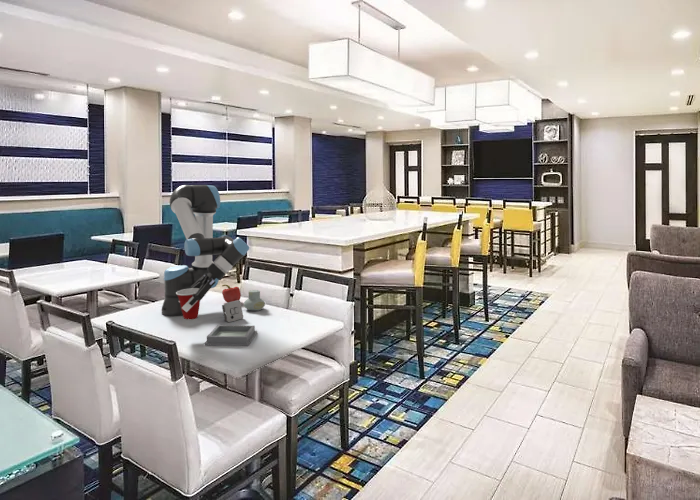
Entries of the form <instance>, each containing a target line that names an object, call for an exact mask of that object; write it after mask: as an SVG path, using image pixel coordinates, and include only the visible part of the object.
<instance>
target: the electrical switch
mask: <svg viewBox="0 0 700 500" xmlns="http://www.w3.org/2000/svg"><path fill="white" fill-rule="evenodd" d="M221 309H222V313H223V318H224V322H227V323H231V322H235V321H239V320H243V319H244V315H243V313H244V312H243V309H242V304H241V300H237V301H232V302H228V303H227V302H224V303H223V305H221Z"/></svg>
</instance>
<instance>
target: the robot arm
mask: <svg viewBox="0 0 700 500" xmlns="http://www.w3.org/2000/svg"><path fill="white" fill-rule="evenodd" d="M169 207H170V209H171V211H172V212H173V213H174V214H175V215H176V218H177V219H178V222H179V224H180V227H181V230H182V232H183V234H184V237H185V241H184V246H183V247H184V252H185V255H186V256H188V257H194V261H193V262H192V263H191V267H189V266H188V265H185V264H183V265H175V266H171V267H168V268H167V269H166V268H165V270H164V272H163V285H164V299H163V303H162V306H161V315H163V316H170V317H177V316H178V317H179V316H180V317H181V316H183V313H182V310H181V305H180V301H179V298H178V296H177V294H176V292H178V291H180V290H184V289H190V288H199V290H198V291H197V293H196V294H195V295H192V297H191V299H190V300H189V301H188V302H187V303H186V304H185V305H184V306H183V307H182V309H183V310H184V311H186V312H188V310H189V309H190V308H191V307H192V306H193V305H194V304H195V303H196V302H197V301H198V300H200V301H202V300H203V298H204V297H205V296H206V295H207V294H208V292H209V291H210V289H214V288H216V287H217V285H218V284H219V281H221V280H222V279H223V278H224V277H225V275H226V274H228V272H229V271H232V270H233V267H234V266H235V265H236V264H237V263H238V262H239V261H240V260H241V259H242V258H243V257H244V256H246V254H247V253H248V251H249V250H250V246H249V245H248V244H247V243H246V242H245V241H244V240H243V239H242V238H241V237H236V238H235V239H233V237H231V236H229V235H227V234H222V235H219V236H218V237H213V234H214V233H213V231H214V229H213V228H214V223H213V222H214V215H216V213H217V209H220V207H221V195H220V193H219V190H218V188H217V187H216V186H215V185H210V184H209V185H208V184H191V185H189V184H183V185H180V186H179V187H178V186H177V188H175V189H174V190H173V191H172V193H171V194H170V197H169ZM214 255H216V256H217V255H218V256H217V258H215V260H213V256H214Z"/></svg>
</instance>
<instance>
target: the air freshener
mask: <svg viewBox="0 0 700 500" xmlns="http://www.w3.org/2000/svg"><path fill="white" fill-rule="evenodd" d="M265 306H266V302H265V301H264V299H262V298H261V291H260V290H259V289H252V290H248V298H247V299H245V300H244V303H243V307H244V308H245V309H246V310H248V311H251V312H259V311H261V310H262V309H264V307H265Z"/></svg>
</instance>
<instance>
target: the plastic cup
mask: <svg viewBox="0 0 700 500" xmlns="http://www.w3.org/2000/svg"><path fill="white" fill-rule="evenodd" d="M198 290H199V288H190V289H184V290H180V291H178V292H176V294H177V296H178V298H179V301H180V305H181V310H182V313H183V315H182V316H183V317H182V318H183V319H185V320H194V319H195V320H196V319H198V316H199V311H200V304H201V300H198V301H197V302H196V303H195V304H194V305H193V306H192V307H191V308H190V309H189V310H188V312H186V311H184V310H183V309H182V307H183V306H184V305H185V304H186V303H187V302H188V301H189V300H190V299H191V297H192V295H195V294H196V293H197V291H198Z"/></svg>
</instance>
